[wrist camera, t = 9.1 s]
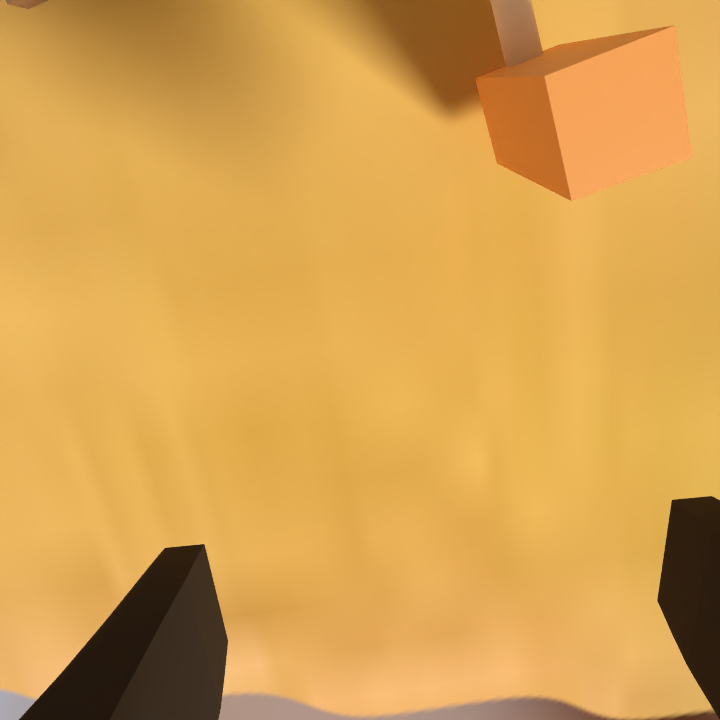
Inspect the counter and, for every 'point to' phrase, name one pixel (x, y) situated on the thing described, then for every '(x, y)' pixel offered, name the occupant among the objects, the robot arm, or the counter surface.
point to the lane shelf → (25, 3)
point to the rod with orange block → (583, 105)
